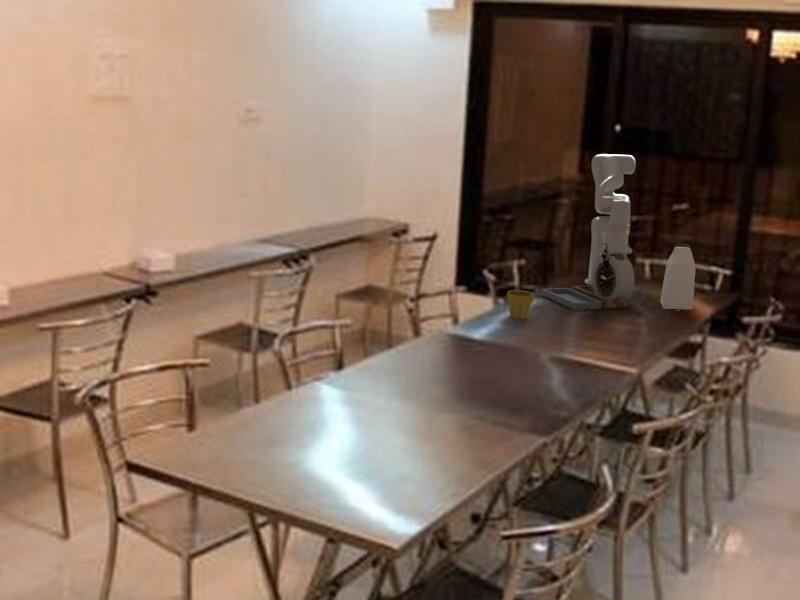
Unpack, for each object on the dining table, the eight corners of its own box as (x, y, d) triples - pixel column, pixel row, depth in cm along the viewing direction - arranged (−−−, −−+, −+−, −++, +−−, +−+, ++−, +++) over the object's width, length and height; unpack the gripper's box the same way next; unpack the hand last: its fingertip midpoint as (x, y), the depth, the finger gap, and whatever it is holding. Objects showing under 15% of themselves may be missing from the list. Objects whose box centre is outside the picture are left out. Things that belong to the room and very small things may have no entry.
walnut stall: (594, 293, 475) (595, 285, 474) (627, 306, 452) (628, 297, 451) (571, 294, 470) (572, 286, 469) (603, 308, 448) (603, 298, 447)
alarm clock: (589, 292, 472) (593, 248, 467) (603, 291, 475) (608, 247, 470) (618, 303, 453) (622, 258, 448) (632, 302, 456) (637, 257, 451)
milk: (688, 305, 462) (695, 246, 456) (692, 311, 451) (699, 250, 445) (659, 303, 463) (666, 244, 457) (663, 309, 452) (670, 248, 446)
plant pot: (528, 321, 418) (530, 297, 416) (502, 318, 421) (504, 293, 419) (534, 315, 428) (536, 292, 426) (508, 312, 431) (510, 288, 429)
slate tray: (567, 294, 470) (567, 287, 470) (601, 308, 446) (601, 301, 445) (541, 295, 465) (542, 288, 464) (574, 310, 441) (575, 303, 440)
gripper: (629, 226, 463) (625, 266, 467) (595, 227, 457) (591, 267, 461) (639, 229, 456) (635, 269, 461) (605, 230, 450) (601, 271, 454)
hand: (613, 268), depth 461 cm, fingers closed on alarm clock, 7 cm apart
